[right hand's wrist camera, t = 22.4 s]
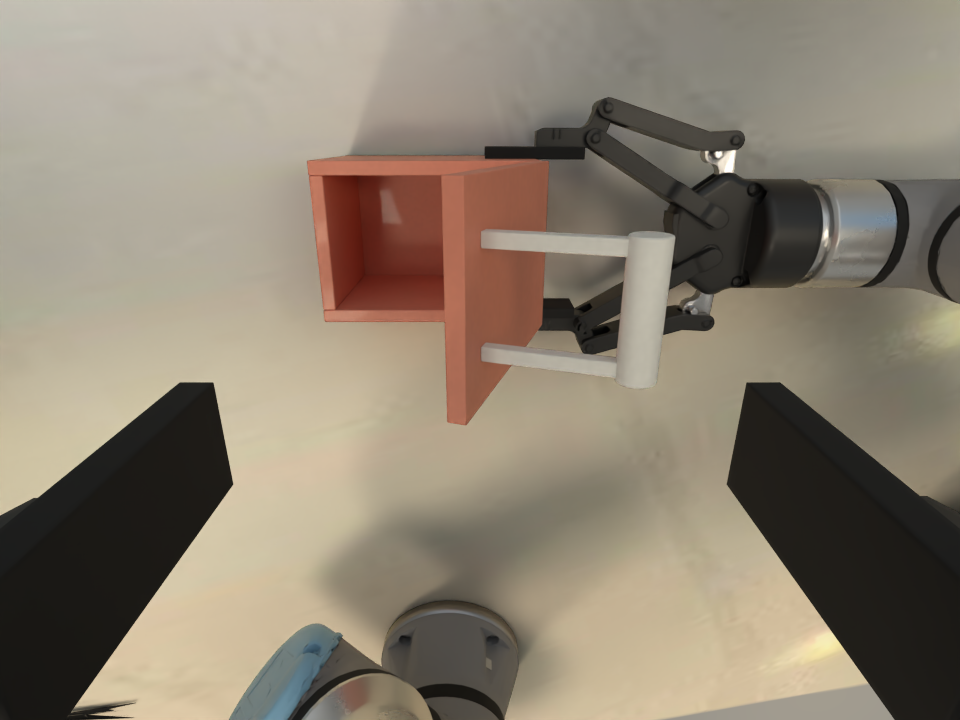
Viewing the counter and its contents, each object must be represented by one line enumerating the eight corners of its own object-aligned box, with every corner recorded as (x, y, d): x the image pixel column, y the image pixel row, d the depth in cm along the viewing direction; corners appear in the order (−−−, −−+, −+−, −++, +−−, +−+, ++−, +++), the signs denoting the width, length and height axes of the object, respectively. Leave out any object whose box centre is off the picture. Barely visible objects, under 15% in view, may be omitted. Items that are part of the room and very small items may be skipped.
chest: (357, 282, 48) (324, 322, 37) (347, 155, 44) (306, 160, 33) (522, 282, 48) (535, 322, 37) (526, 155, 44) (541, 160, 33)
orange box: (446, 422, 24) (647, 455, 22) (440, 174, 20) (683, 179, 18) (528, 323, 37) (660, 337, 34) (534, 160, 33) (683, 162, 31)
